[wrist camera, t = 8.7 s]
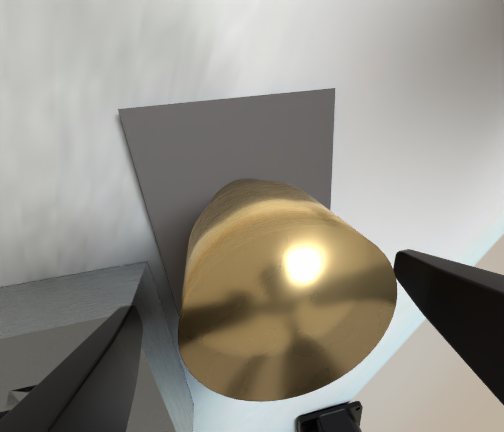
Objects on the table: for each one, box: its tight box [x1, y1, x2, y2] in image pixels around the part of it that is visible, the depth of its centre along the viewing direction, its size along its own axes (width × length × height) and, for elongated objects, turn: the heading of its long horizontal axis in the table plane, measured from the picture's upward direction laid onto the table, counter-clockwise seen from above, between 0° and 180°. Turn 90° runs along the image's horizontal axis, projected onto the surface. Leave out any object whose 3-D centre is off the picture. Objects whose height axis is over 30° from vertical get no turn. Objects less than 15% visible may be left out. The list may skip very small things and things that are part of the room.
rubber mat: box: [118, 88, 335, 316], centre depth 14 cm, size 12×10×1 cm
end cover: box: [178, 178, 397, 401], centre depth 10 cm, size 6×6×8 cm
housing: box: [0, 261, 194, 432], centre depth 14 cm, size 14×14×4 cm
